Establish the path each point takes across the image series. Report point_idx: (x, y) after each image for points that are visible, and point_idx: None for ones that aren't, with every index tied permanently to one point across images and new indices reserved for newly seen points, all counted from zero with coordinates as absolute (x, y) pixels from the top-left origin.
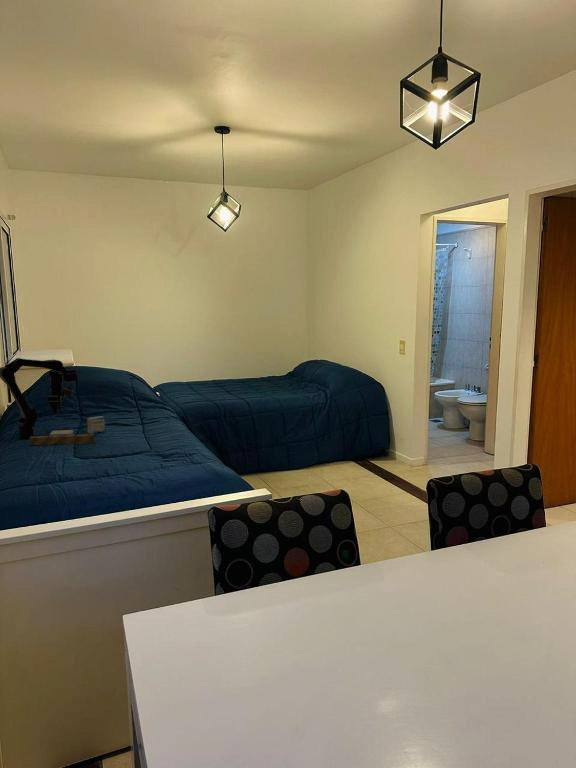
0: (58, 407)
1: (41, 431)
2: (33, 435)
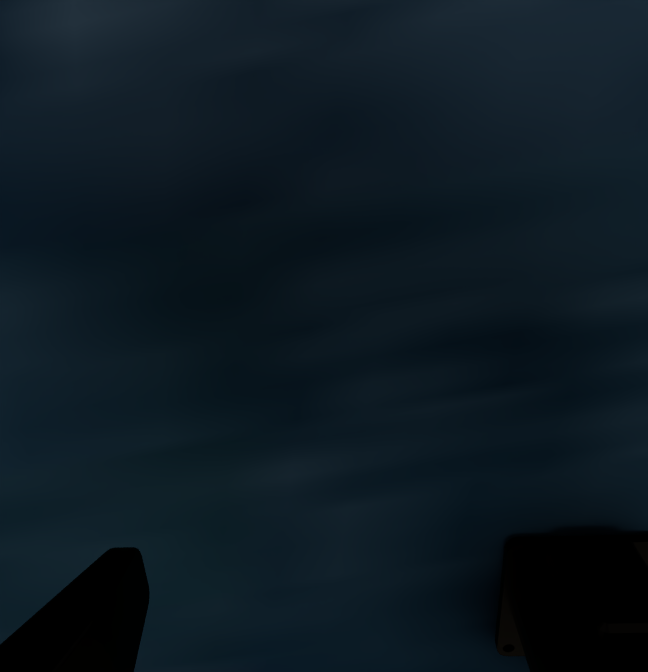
0: (106, 664)
1: (228, 511)
2: (636, 550)
